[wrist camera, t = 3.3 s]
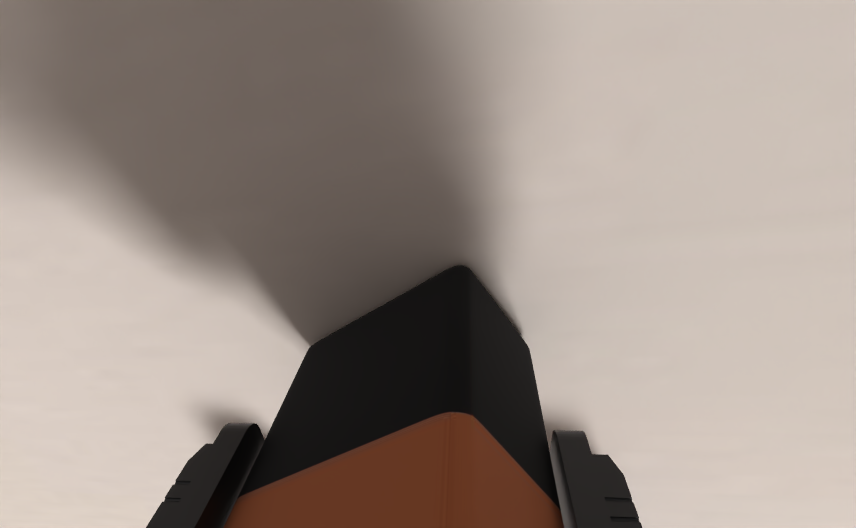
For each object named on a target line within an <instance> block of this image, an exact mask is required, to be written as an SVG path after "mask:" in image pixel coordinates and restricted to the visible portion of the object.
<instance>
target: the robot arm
mask: <svg viewBox="0 0 856 528" xmlns="http://www.w3.org/2000/svg"><path fill="white" fill-rule="evenodd" d="M264 441H265V440H264V438H263V435H262V433H261V430H260V428H259V426H258V425H257V424H252V423H228V424H227V425H225V426H224V427H223V429H222V430H221V432H220V433H219V435H218V437H217V438H216V440H215V442H214V444H205V445H204V446H203V447H202V448H201V449H200V450H199V451H198V452H197V453H196V454H195V455H194V456H193V457H192V458H190V459H189V460H188V462H187V463H186V465H185V466H184V468H183V470H182V471H181V473H180V474H179V476H178V478H177V479H176V483H175V485H173V486H172V487H171V489H170V490H169V492H168V493H167V495H166V497H165V501H164V502H162V503H161V505H160V506H159V508H158V509H157V511H156V513H155V514H154V516H153V517H152V519H151V520H150V522H149V524H148V525H147V527H146V528H223V527H224V525H225V523H226V521H227V519H228V517H229V515H230V513H231V511H232V508H233V506H234V504H235V502H236V500H237V498H238V496H239V494H240V492H241V490H242V487H243V485H244V483H245V481H246V479H247V477H248V475H249V473H250V471H251V469H252V466H253V464H254V462H255V460H256V458H257V456H258V454H259V452H260V450H261V448H262V445H263V443H264ZM550 457H551V462H552V467H553V473H554V478H555V483H556V488H557V493H558V498H559V503H560V509H561V514H562V519H563V524H564V528H642V526H641V523H640V522H639V517H638V514H637V511H636V508H635V506H634V503H633V502H632V497H631V494H630V491H629V489H628V486H627V483H626V480H625V477H624V475H623V473H622V472H621V471H620V470H619V468H618V467H617V466H616V464H615V463H614V462H613V461H612V459H611V458H610V457H609V456H608V455H595V454H591V451H590V447H589V444H588V440H587V437H586V435H585V433H584V432H583V431H556V430H554V431H553V434H552V441H551V449H550Z"/></svg>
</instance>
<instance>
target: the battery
mask: <svg viewBox="0 0 856 528" xmlns="http://www.w3.org/2000/svg"><path fill="white" fill-rule="evenodd" d="M223 528H564V524H563V519H562V514H561V509H560V503H559V498H558V493H557V488H556V483H555V478H554V473H553V467H552V462H551V457H550V452H549V447H548V442H547V437H546V431H545V426H544V421H543V416H542V411H541V406H540V400H539V395H538V390H537V385H536V380H535V375H534V370H533V364H532V359H531V355H530V350H529V348H528V346H527V344H526V343H525V341H524V340H523V339H522V337H521V336H520V335H519V333H518V332H517V331H516V329H515V328H514V327H513V325H512V324H511V323H510V321H509V320H508V319H507V317H506V316H505V315H504V313H503V312H502V311H501V309H500V308H499V307H498V306H497V304H496V303H495V302H494V300H493V299H492V298H491V296H490V295H489V294H488V292H487V291H486V290H485V288H484V287H483V286H482V284H481V283H480V282H479V280H478V279H477V278H476V276H475V275H474V274H473V273H472V271H471V270H470V269H469V268H467V267H465V266H455V267H452V268H450V269H448V270H446V271H444V272H442V273H440V274H438V275H436V276H435V277H433V278H431V279H429V280H427V281H426V282H424V283H422V284H420V285H418V286H417V287H415V288H413V289H411V290H410V291H408V292H406V293H404V294H402V295H401V296H399V297H397V298H395V299H393V300H392V301H390V302H388V303H386V304H385V305H383V306H381V307H379V308H377V309H376V310H374V311H372V312H370V313H368V314H367V315H365V316H363V317H361V318H359V319H358V320H356V321H354V322H352V323H351V324H349V325H347V326H345V327H343V328H342V329H340V330H338V331H336V332H334V333H333V334H331V335H329V336H327V337H326V338H324V339H322V340H320V341H319V342H317V343H315V344H314V345H312V346H311V347H310V348H309V350H308V351H307V353H306V355H305V357H304V359H303V361H302V363H301V366H300V368H299V370H298V372H297V374H296V376H295V378H294V380H293V382H292V384H291V387H290V389H289V391H288V393H287V395H286V397H285V399H284V401H283V403H282V406H281V408H280V410H279V412H278V414H277V416H276V418H275V420H274V422H273V424H272V427H271V429H270V431H269V433H268V435H267V437H266V439H265V441H264V443H263V445H262V448H261V450H260V452H259V454H258V456H257V458H256V460H255V462H254V464H253V466H252V469H251V471H250V473H249V475H248V477H247V479H246V481H245V483H244V485H243V487H242V490H241V492H240V494H239V496H238V498H237V500H236V502H235V504H234V506H233V508H232V511H231V513H230V515H229V517H228V519H227V521H226V523H225V525H224V527H223Z"/></svg>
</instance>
